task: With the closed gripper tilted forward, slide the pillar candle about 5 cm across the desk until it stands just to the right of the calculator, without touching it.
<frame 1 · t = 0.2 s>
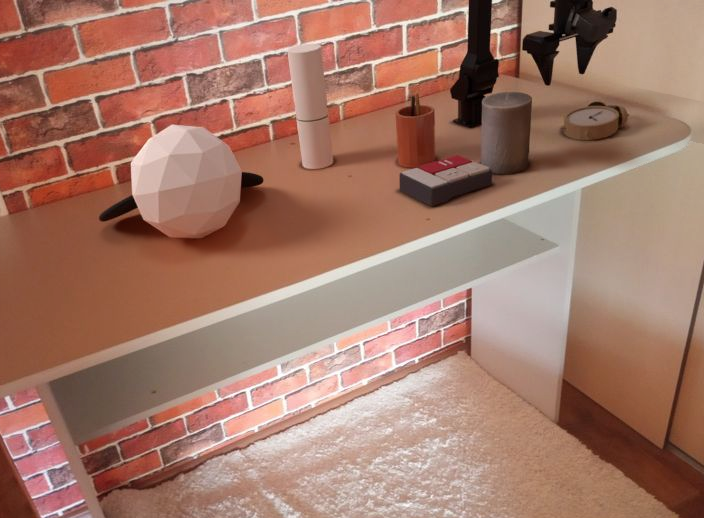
hand: (564, 79, 142), 15 cm above the table, tool pointing down, fingers open, 9 cm apart
faceted geodesic sphere: (195, 226, 142), on the table
pillar candle: (504, 166, 147), on the table
cylindrical container: (318, 163, 162), on the table
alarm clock: (595, 130, 157), on the table
pencils: (415, 124, 151), in the pen pot, point 8 cm above the table
pen pot: (416, 160, 155), on the table
calculator: (445, 188, 142), on the table
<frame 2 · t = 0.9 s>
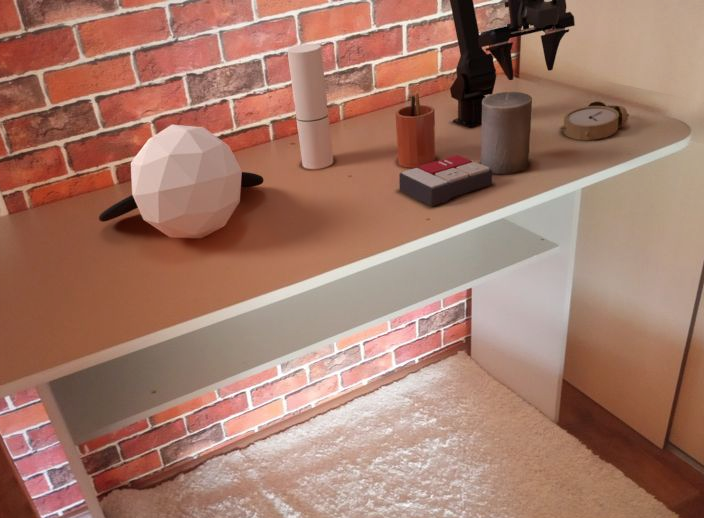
hand: (530, 75, 144), 16 cm above the table, tool tilted 15°, fingers open, 9 cm apart
nothing on the table moved.
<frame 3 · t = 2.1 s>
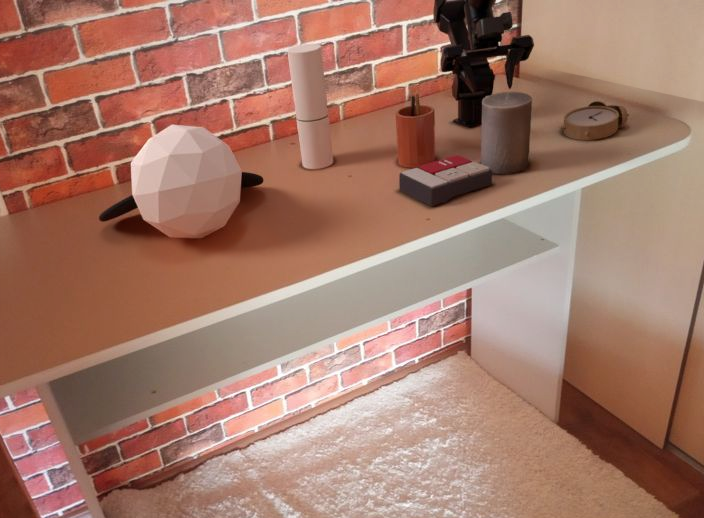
hand: (492, 90, 149), 13 cm above the table, tool tilted 45°, fingers open, 7 cm apart
nothing on the table moved.
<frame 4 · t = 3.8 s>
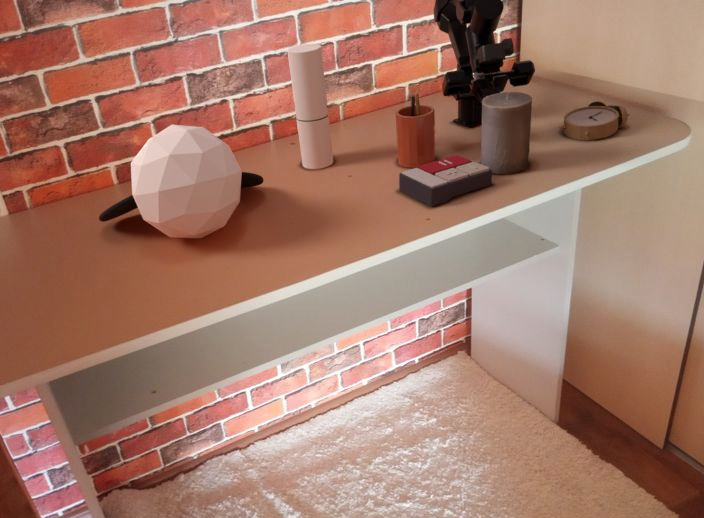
hand: (494, 114, 150), 8 cm above the table, tool tilted 45°, fingers closed
nothing on the table moved.
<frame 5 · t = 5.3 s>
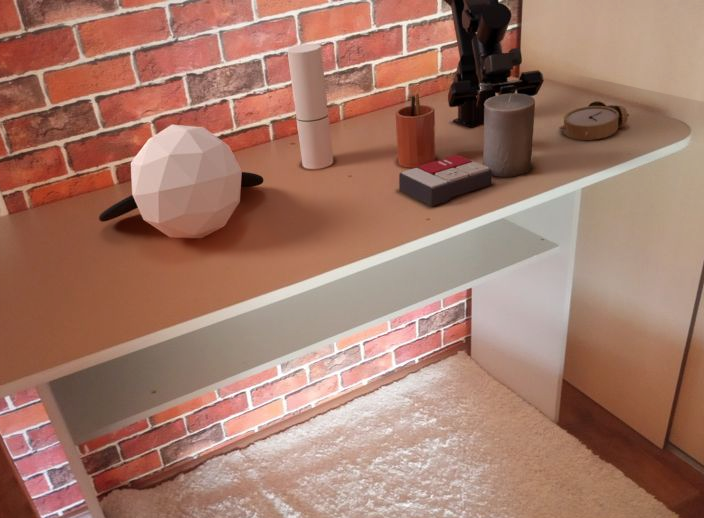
hand: (501, 126, 146), 7 cm above the table, tool tilted 45°, fingers closed, pressing on pillar candle
pillar candle: (506, 168, 146), on the table, touching gripper
everything else where it was.
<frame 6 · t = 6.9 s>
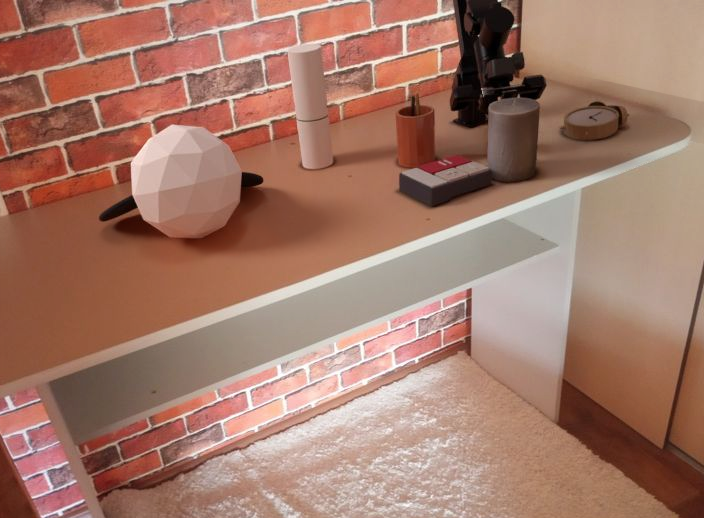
hand: (503, 131, 144), 7 cm above the table, tool tilted 45°, fingers closed
pillar candle: (510, 173, 144), on the table
everything else where it was.
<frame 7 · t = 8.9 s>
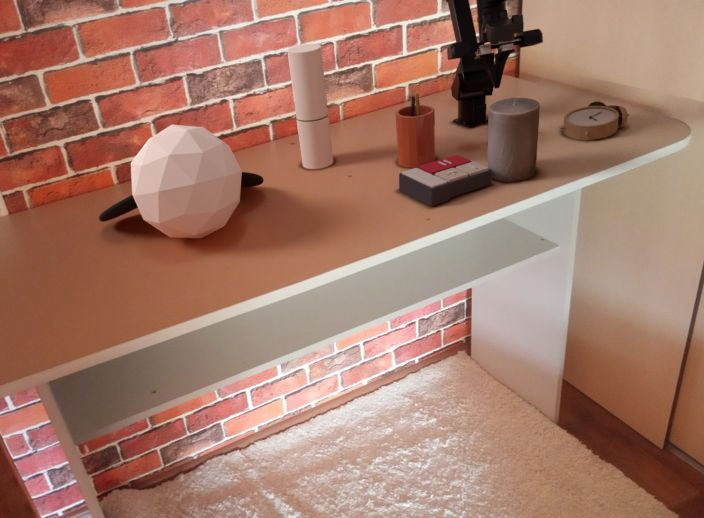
hand: (497, 88, 150), 12 cm above the table, tool tilted 20°, fingers closed
nothing on the table moved.
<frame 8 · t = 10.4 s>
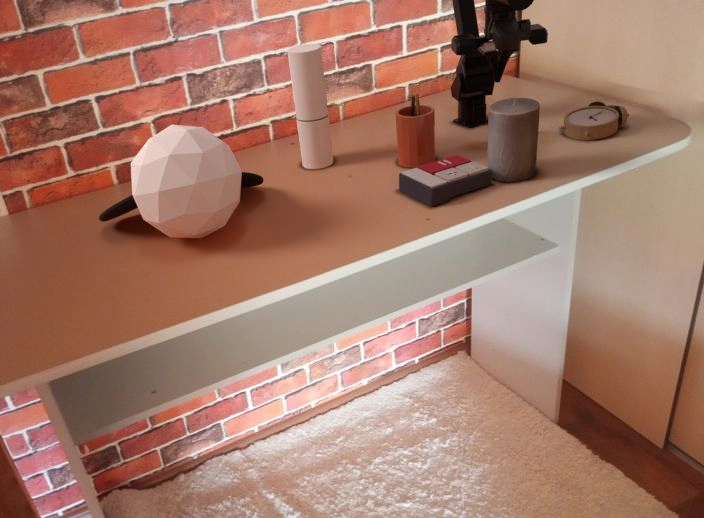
hand: (497, 82, 151), 13 cm above the table, tool pointing down, fingers closed
nothing on the table moved.
at the end: pillar candle 1.2 cm from the target spot, on the table; pillar candle 14.3 cm from the calculator (horizontally); pillar candle tilted 0° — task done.
